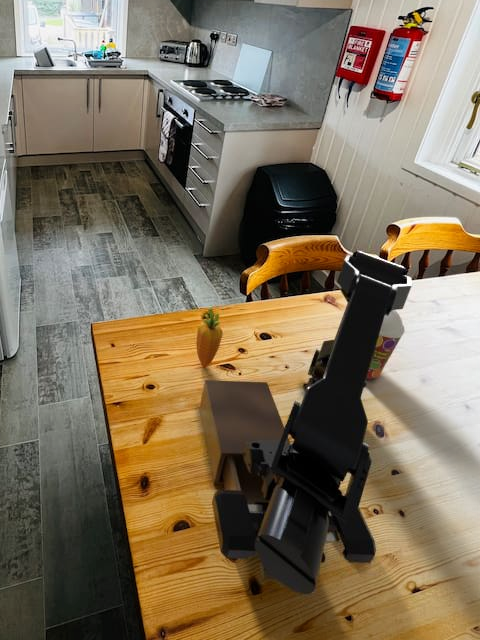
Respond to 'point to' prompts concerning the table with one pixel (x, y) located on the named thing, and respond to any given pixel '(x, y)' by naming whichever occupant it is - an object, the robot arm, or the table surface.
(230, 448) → the cabinet
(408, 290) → the robot arm
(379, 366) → the smoothie
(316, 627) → the table surface
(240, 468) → the drawer
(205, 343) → the carrot
